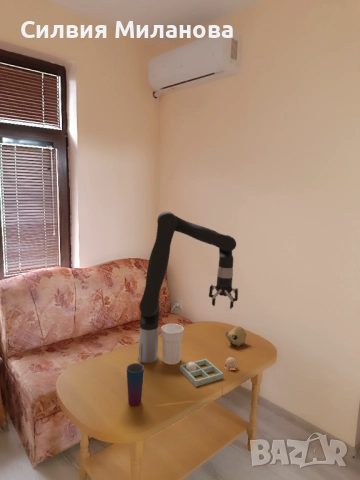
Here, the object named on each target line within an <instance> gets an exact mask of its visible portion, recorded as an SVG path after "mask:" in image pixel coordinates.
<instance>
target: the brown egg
mask: <svg viewBox="0 0 360 480" xmlns="http://www.w3.org/2000/svg"><path fill="white" fill-rule="evenodd" d="M225 363H226V365H227V366H228V367H229V368H234V367H235V366H237V360H236V358H234V357H232V356H230V357H228V358H226V360H225Z"/></svg>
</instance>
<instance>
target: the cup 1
mask: <svg viewBox="0 0 360 480" xmlns="http://www.w3.org/2000/svg"><path fill="white" fill-rule="evenodd" d="M144 371H145V366H144V365H143V364H142V363H137V362H135V363H130V364H128V365H127V366H126V380H127V382H126V383H127V385H126V386H127V400H128V401H127V402H128V405H129V406H131V407H137V406H140V405H141V404H142V398H143V397H142V396H143V395H142V394H143V385H144V383H143V382H144Z"/></svg>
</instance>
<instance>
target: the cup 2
mask: <svg viewBox="0 0 360 480" xmlns="http://www.w3.org/2000/svg"><path fill="white" fill-rule="evenodd" d="M184 330H185V328H184V327H183V325H180V324H177V323H167V324H163V325H162V326H161V327H160V338H161V342H162V344H161V350H162V352H161V353H162V357H161V360H162V362H163V363H164V365H169V366H175V365H178V364H180V362H181V354H182V340H183V338H184Z"/></svg>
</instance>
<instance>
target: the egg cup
mask: <svg viewBox="0 0 360 480" xmlns="http://www.w3.org/2000/svg"><path fill="white" fill-rule="evenodd" d="M223 368H224V369H225V370H226V371H229V372H231V371H230V368H229V367H228V366H227V365H226V362H225V363H224V365H223ZM235 369H237V370H238V366H237V367H235Z"/></svg>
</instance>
